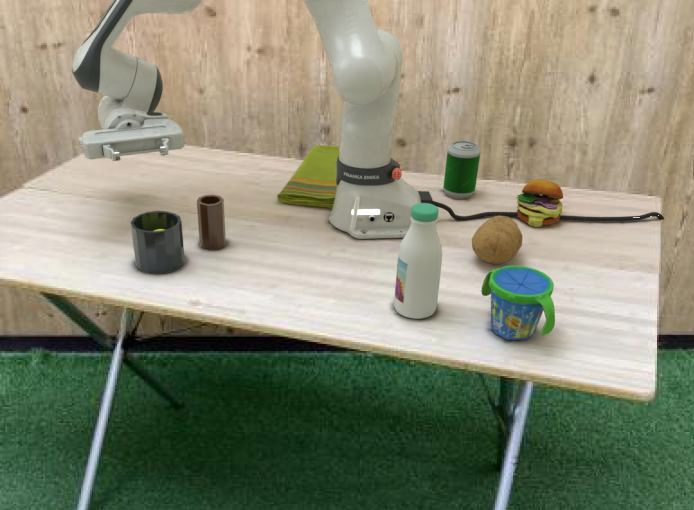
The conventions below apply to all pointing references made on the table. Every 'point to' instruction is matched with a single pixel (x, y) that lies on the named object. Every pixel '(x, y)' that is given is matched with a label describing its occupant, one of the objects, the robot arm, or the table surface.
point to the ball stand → (211, 222)
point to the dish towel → (313, 179)
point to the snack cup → (519, 301)
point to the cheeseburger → (540, 203)
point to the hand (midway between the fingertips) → (140, 154)
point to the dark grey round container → (158, 242)
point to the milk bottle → (419, 265)
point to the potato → (497, 240)
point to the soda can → (461, 169)
